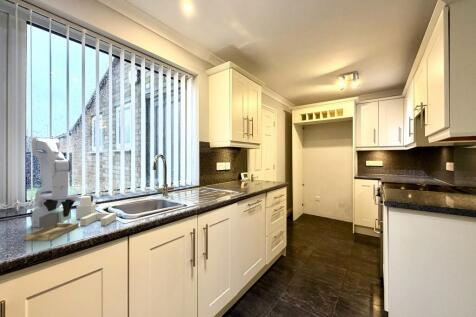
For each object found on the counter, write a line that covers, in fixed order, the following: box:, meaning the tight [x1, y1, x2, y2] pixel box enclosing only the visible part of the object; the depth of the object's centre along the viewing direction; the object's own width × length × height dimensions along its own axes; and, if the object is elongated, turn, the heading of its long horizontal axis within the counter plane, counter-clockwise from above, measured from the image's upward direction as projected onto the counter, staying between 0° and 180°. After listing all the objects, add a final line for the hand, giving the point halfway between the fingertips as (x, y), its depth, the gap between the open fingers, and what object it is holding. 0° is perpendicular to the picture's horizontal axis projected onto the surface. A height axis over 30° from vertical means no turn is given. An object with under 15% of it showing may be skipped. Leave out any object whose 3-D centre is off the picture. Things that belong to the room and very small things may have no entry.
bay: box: [79, 212, 117, 226], centre depth 105 cm, size 12×10×4 cm
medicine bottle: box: [75, 194, 96, 220], centre depth 114 cm, size 7×7×12 cm
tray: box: [23, 222, 80, 242], centre depth 89 cm, size 10×16×2 cm, turn 5°
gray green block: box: [38, 207, 72, 229], centre depth 90 cm, size 5×12×5 cm, turn 5°
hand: (59, 216), depth 92 cm, fingers closed on gray green block, 5 cm apart
